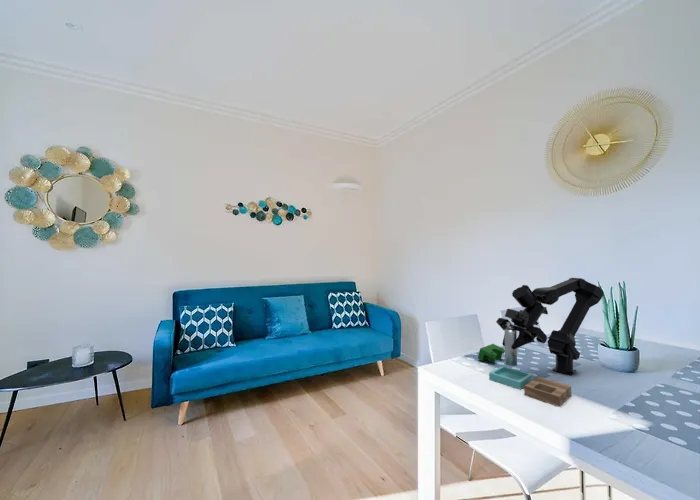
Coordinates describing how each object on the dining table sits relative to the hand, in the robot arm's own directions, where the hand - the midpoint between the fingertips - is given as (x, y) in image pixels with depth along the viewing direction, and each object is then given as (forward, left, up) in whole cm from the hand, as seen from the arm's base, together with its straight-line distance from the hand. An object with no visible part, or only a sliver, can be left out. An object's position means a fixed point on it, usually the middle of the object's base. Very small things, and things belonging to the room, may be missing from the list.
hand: (507, 346), depth 112 cm
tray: (-1, 0, -13) cm, 13 cm away
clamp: (-16, -14, -13) cm, 25 cm away
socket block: (+1, +13, -13) cm, 18 cm away
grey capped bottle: (-1, +1, -7) cm, 7 cm away
